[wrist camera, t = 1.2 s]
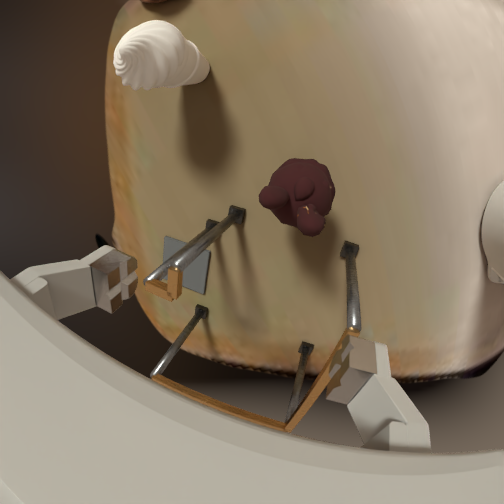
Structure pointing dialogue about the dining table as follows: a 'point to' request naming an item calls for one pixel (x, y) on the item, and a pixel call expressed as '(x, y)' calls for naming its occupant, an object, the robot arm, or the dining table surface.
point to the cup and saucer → (152, 1)
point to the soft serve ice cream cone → (158, 57)
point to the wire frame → (174, 290)
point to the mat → (195, 271)
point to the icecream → (300, 195)
